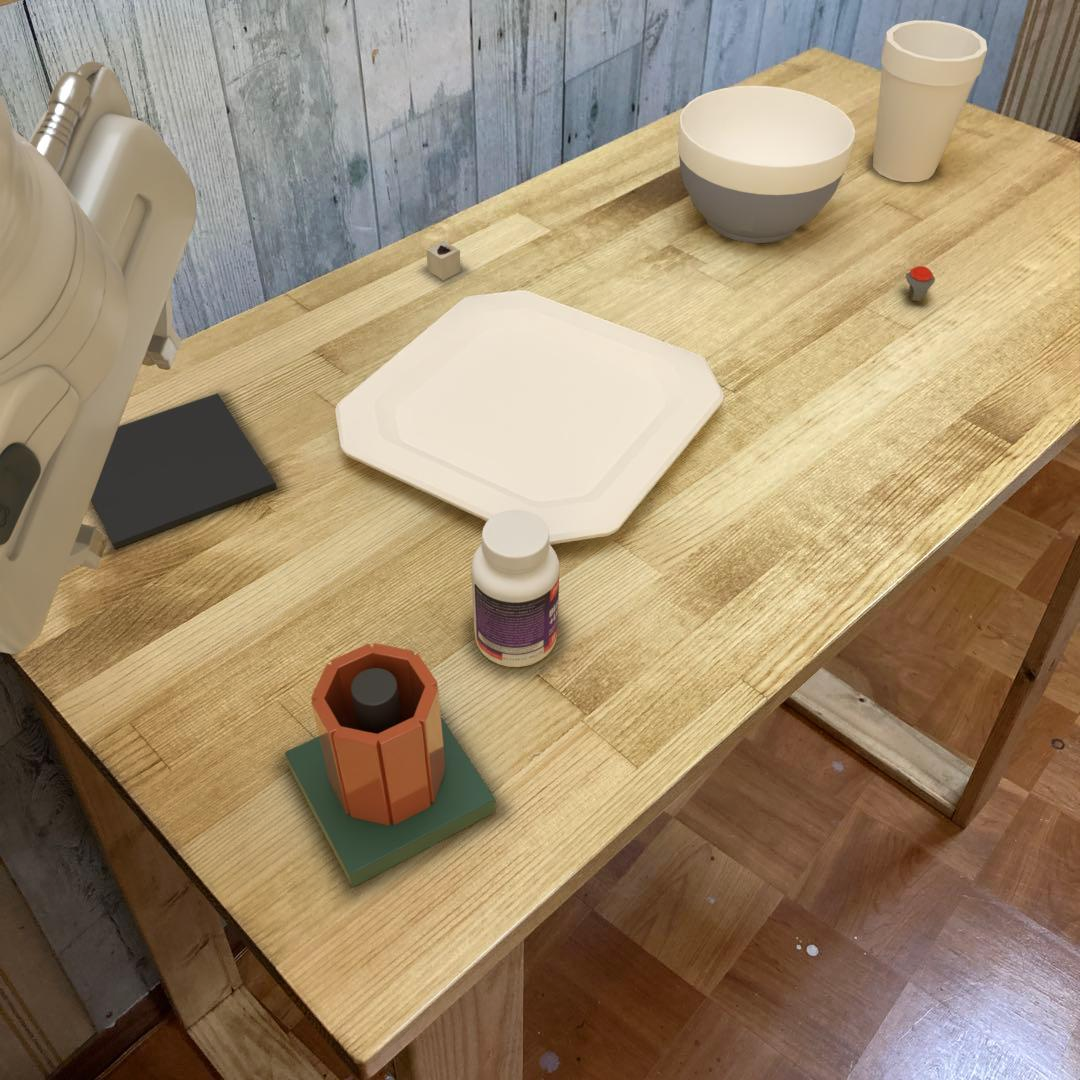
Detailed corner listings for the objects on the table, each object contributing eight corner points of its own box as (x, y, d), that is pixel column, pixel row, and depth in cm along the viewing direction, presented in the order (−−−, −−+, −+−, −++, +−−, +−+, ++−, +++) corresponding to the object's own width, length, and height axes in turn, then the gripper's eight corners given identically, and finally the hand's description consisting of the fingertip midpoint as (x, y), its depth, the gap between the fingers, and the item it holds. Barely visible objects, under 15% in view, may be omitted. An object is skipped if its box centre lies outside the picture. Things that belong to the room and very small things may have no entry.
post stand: (352, 888, 61) (329, 790, 54) (287, 765, 67) (259, 662, 59) (496, 812, 65) (492, 710, 57) (423, 701, 70) (412, 595, 63)
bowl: (721, 278, 102) (735, 181, 96) (640, 195, 112) (648, 102, 106) (867, 241, 107) (891, 146, 100) (777, 165, 117) (793, 73, 110)
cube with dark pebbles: (461, 271, 103) (459, 247, 101) (443, 280, 102) (441, 256, 100) (445, 261, 104) (444, 237, 102) (427, 270, 103) (425, 246, 101)
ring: (926, 290, 101) (935, 262, 99) (930, 307, 100) (939, 278, 98) (898, 289, 102) (906, 260, 99) (901, 305, 100) (910, 276, 98)
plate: (586, 584, 77) (587, 562, 75) (305, 451, 86) (301, 429, 84) (743, 391, 91) (747, 369, 90) (489, 295, 100) (488, 273, 99)
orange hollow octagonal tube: (362, 842, 62) (345, 761, 56) (315, 758, 65) (295, 675, 59) (461, 791, 64) (455, 708, 58) (412, 713, 68) (401, 628, 62)
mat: (114, 549, 79) (112, 543, 78) (67, 450, 86) (65, 444, 85) (276, 488, 83) (275, 482, 83) (219, 398, 90) (217, 392, 90)
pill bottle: (567, 660, 72) (572, 556, 65) (485, 677, 71) (481, 574, 64) (544, 598, 76) (547, 493, 69) (466, 613, 75) (460, 509, 68)
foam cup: (838, 163, 117) (866, 36, 108) (894, 136, 122) (925, 12, 112) (912, 199, 112) (948, 70, 103) (968, 170, 117) (1007, 43, 107)
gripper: (0, 13, 39) (135, 228, 52) (-253, 570, 34) (-30, 652, 47) (174, 51, 39) (266, 258, 52) (-54, 621, 33) (114, 689, 47)
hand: (124, 449), depth 49 cm, fingers open, 8 cm apart
